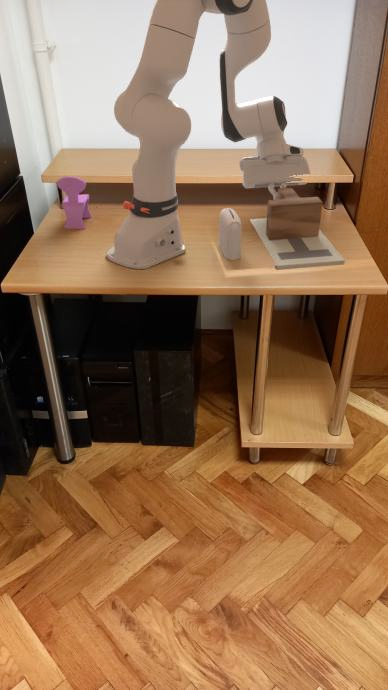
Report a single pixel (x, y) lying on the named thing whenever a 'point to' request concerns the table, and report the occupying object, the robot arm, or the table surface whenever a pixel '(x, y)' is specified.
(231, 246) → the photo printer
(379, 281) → the table surface
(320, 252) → the board
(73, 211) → the toy chair
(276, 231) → the t block
